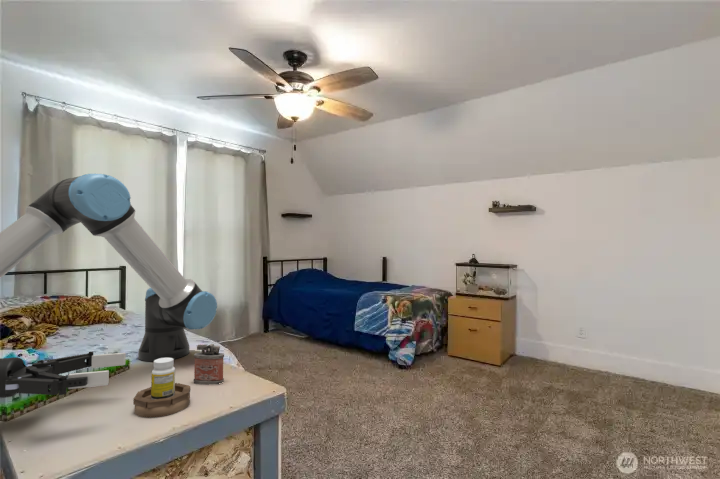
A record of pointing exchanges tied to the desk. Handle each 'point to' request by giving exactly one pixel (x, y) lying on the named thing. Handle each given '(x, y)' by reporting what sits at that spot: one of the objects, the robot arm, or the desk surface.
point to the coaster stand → (161, 402)
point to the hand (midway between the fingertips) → (117, 367)
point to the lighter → (208, 365)
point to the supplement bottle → (163, 379)
